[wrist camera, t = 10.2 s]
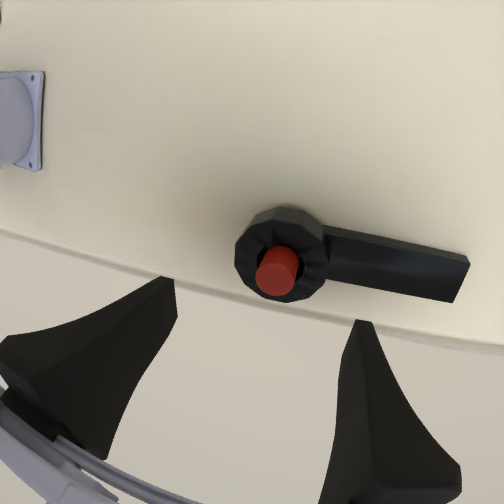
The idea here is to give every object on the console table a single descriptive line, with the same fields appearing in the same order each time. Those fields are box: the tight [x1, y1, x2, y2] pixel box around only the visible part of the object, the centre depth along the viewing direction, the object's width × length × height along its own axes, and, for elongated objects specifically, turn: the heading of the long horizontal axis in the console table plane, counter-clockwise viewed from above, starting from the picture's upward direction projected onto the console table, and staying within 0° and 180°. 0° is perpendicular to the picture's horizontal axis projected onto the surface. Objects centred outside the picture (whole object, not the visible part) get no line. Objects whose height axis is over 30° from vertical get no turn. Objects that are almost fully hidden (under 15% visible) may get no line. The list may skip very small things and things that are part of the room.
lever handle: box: [234, 207, 470, 303], centre depth 16 cm, size 13×5×2 cm, turn 86°
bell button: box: [256, 245, 299, 296], centre depth 15 cm, size 2×2×2 cm
